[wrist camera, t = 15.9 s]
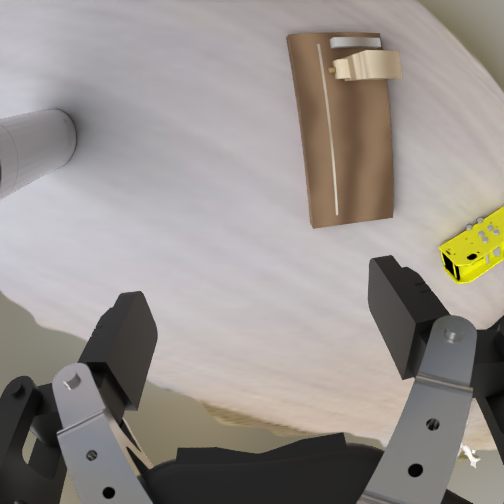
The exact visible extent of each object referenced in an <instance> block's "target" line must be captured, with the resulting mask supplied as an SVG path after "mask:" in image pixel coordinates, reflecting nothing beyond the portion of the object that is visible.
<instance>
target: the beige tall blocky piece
mask: <svg viewBox="0 0 504 504" xmlns="http://www.w3.org/2000/svg"><path fill="white" fill-rule="evenodd" d="M333 66H334V67H331V68H328V71H329V73H335V79H345V81H357V80H379V79H397V78H402V71H401V64H400V57H399V51H389V50H365V51H362V52H359V53H356V54H353V55H350V56H348V57H345V58H342V59H337V60H335V61H333Z"/></svg>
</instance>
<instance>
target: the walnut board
mask: <svg viewBox="0 0 504 504" xmlns="http://www.w3.org/2000/svg"><path fill="white" fill-rule="evenodd" d="M286 39H287V44H288V50H289V56H290V62H291V68H292V75H293V81H294V88H295V94H296V101H297V108H298V116H299V123H300V131H301V139H302V147H303V155H304V164H305V173H306V182H307V192H308V202H309V212H310V223H311V225H312V227H313V229H314V228H321V227H328V226H335V225H342V224H349V223H357V222H364V221H371V220H379V219H386V218H393V159H392V137H391V122H390V109H389V98H388V89H387V80H386V79H379V80H357V81H345V79H335V73H329V71H328V68H331V67H334V66H333V61H335V60H337V59H342V58H345V57H348V56H350V55H353V54H356V53H359V52H362V51H365V50H382V44H381V38H380V33H308V34H292V35H288V36H287V37H286Z"/></svg>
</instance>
